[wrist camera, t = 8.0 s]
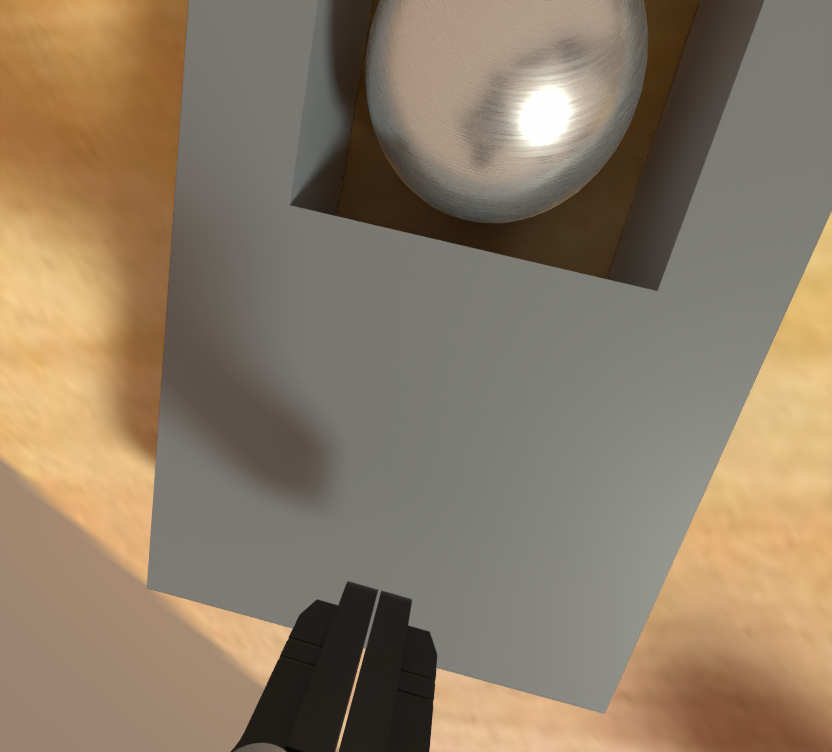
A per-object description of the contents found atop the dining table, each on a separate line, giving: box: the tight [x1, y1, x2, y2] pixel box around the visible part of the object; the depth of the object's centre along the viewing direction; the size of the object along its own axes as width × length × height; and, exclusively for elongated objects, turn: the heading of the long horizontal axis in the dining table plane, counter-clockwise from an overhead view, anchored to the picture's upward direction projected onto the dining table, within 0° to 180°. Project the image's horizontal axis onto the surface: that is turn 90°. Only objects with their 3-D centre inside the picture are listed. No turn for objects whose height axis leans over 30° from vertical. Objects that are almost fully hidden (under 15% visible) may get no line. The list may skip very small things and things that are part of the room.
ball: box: [366, 0, 648, 223], centre depth 11 cm, size 6×6×6 cm
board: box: [147, 0, 832, 714], centre depth 13 cm, size 22×14×4 cm, turn 167°
